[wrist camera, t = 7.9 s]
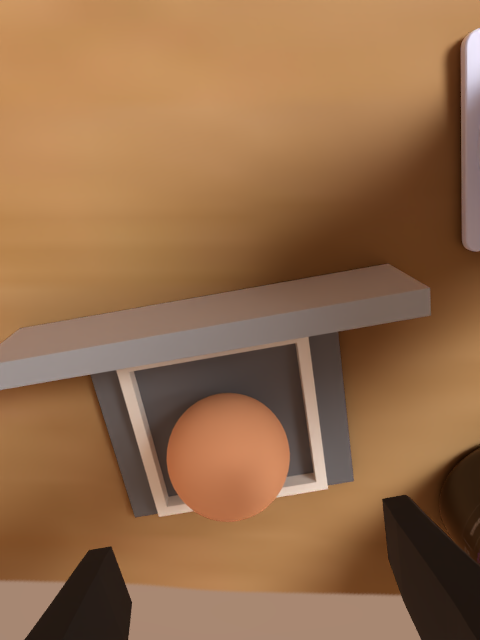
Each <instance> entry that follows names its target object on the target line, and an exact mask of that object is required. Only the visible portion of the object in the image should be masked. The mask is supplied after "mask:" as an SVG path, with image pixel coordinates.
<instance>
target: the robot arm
mask: <svg viewBox="0 0 480 640" xmlns="http://www.w3.org/2000/svg"><path fill="white" fill-rule="evenodd" d="M461 166H462V243H463V246H464V247H465V248H466V249H468V250H471V251H480V28H478V29H476V30H473V31H472V32H470V33H468V34H467V35H466V36H465V38H464V39H463V41H462V44H461ZM382 501H383V511H384V521H385V530H386V540H387V550H388V559H389V562H390V565H391V568H392V570H393V573H394V576H395V579H396V582H397V585H398V587H399V590H400V593H401V596H402V598H403V601H404V603H405V605H406V608H407V610H408V612H409V614H410V616H411V618H412V621H413V623H414V625H415V627H416V629H417V631H418V633H419V636H420V638H421V640H480V565H479V564H478V563H477V562H476V561H475V560H474V559H472V558H471V557H470V556H469V555H468V554H467V553H466V552H465V551H464V550H462V549H461V548H460V547H459V546H458V545H457V544H456V543H455V542H454V541H453V540H452V539H451V538H449V537H448V536H447V535H446V534H445V533H444V532H443V531H442V530H441V529H440V528H439V527H438V526H437V525H436V524H435V523H434V522H433V521H432V520H431V519H430V518H429V517H428V516H427V515H426V514H425V513H424V512H423V511H422V510H421V509H420V508H419V507H418V506H417V505H416V503H415V502H414V501H413V500H412V499H411V498H410V497H408V496H407V495H402V496H396V497H390V498H385V499H382ZM131 607H132V601H131V598H130V596H129V593H128V590H127V588H126V585H125V582H124V580H123V577H122V574H121V571H120V569H119V566H118V563H117V561H116V558H115V555H114V553H113V550H112V547H105V548H99V549H94V550H89V551H88V552H87V554H86V555H85V556H84V558H83V559H82V561H81V562H80V563H79V565H78V566H77V567H76V569H75V570H74V572H73V573H72V575H71V576H70V577H69V579H68V580H67V582H66V583H65V585H64V586H63V588H62V589H61V590H60V592H59V593H58V595H57V596H56V597H55V599H54V600H53V602H52V603H51V604H50V606H49V607H48V608H47V610H46V611H45V613H44V614H43V615H42V617H41V618H40V619H39V621H38V622H37V623H36V625H35V626H34V628H33V629H32V630H31V632H30V633H29V635H28V636H27V637H26V638H25V640H128V635H129V627H130V616H131Z"/></svg>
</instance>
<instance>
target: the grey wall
mask: <svg viewBox="0 0 480 640" xmlns="http://www.w3.org/2000/svg"><path fill="white" fill-rule="evenodd" d="M425 316H431V300H430V287H428V286H426V285H424V284H423V283H421V282H419V281H417V280H416V279H414V278H412V277H411V276H409V275H407V274H405V273H404V272H402V271H400V270H399V269H397V268H395V267H393V266H392V265H390V264H383V265H378V266H372V267H366V268H361V269H355V270H349V271H344V272H338V273H332V274H327V275H321V276H315V277H309V278H304V279H298V280H292V281H287V282H281V283H275V284H270V285H264V286H258V287H253V288H247V289H241V290H236V291H230V292H224V293H218V294H213V295H207V296H201V297H196V298H190V299H184V300H179V301H173V302H167V303H162V304H156V305H150V306H145V307H139V308H133V309H128V310H122V311H116V312H110V313H105V314H99V315H93V316H88V317H82V318H76V319H71V320H65V321H59V322H54V323H48V324H42V325H37V326H31V327H25V328H20V329H19V330H17V331H16V332H15V333H14V334H12V335H11V336H10V337H8V338H7V339H6V340H5V341H3V342H2V343H1V344H0V390H3V389H9V388H15V387H21V386H26V385H32V384H38V383H44V382H50V381H55V380H61V379H67V378H73V377H78V376H84V375H90V374H96V373H102V372H107V371H113V370H119V369H125V368H130V367H136V366H142V365H148V364H154V363H159V362H165V361H171V360H177V359H182V358H188V357H194V356H200V355H206V354H211V353H217V352H223V351H229V350H234V349H240V348H246V347H252V346H258V345H263V344H269V343H275V342H281V341H286V340H292V339H298V338H304V337H310V336H315V335H321V334H327V333H333V332H338V331H344V330H350V329H356V328H362V327H367V326H373V325H379V324H385V323H390V322H396V321H402V320H408V319H414V318H419V317H425Z"/></svg>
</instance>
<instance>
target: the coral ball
mask: <svg viewBox="0 0 480 640" xmlns="http://www.w3.org/2000/svg"><path fill="white" fill-rule="evenodd" d="M289 463H290V451H289V444H288V439H287V436H286V433H285V431H284V428H283V426H282V424H281V423H280V421H279V420H278V418H277V417H276V416H275V414H274V413H273V412H272V411H271V410H270V409H269V408H268V407H266V406H265V405H264V404H263V403H261V402H259V401H258V400H256V399H254V398H252V397H249V396H246V395H242V394H237V393H220V394H215V395H211V396H208V397H206V398H204V399H201V400H200V401H198V402H196V403H195V404H193V405H192V406H191V407H189V408H188V409H187V410H186V411H185V412H184V413H183V414H182V416H181V417H180V418H179V420H178V421H177V423H176V425H175V426H174V428H173V430H172V433H171V435H170V438H169V442H168V447H167V468H168V474H169V477H170V480H171V483H172V485H173V487H174V489H175V491H176V492H177V494H178V496H179V497H180V498H181V500H182V501H183V502H184V503H185V504H186V505H187V506H188V507H189V508H191V509H192V510H193V511H195V512H196V513H198V514H200V515H202V516H204V517H206V518H209V519H212V520H216V521H223V522H232V521H239V520H243V519H247V518H249V517H252V516H254V515H256V514H258V513H260V512H261V511H262V510H264V509H265V508H266V507H267V506H269V505H270V504H271V503H272V502H273V500H274V499H275V498H276V497H277V495H278V494H279V492H280V491H281V489H282V487H283V485H284V483H285V480H286V477H287V474H288V470H289Z"/></svg>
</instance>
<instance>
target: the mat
mask: <svg viewBox="0 0 480 640" xmlns="http://www.w3.org/2000/svg"><path fill="white" fill-rule="evenodd" d="M90 375H91V378H92V382H93V385H94V388H95V391H96V394H97V397H98V401H99V404H100V407H101V410H102V413H103V417H104V420H105V423H106V426H107V429H108V433H109V436H110V439H111V442H112V445H113V449H114V452H115V455H116V458H117V461H118V465H119V468H120V471H121V474H122V477H123V480H124V484H125V487H126V490H127V493H128V496H129V500H130V503H131V506H132V509H133V512H134V516H135V517H141V516H147V515H153V514H158V516H159V517H162V516H168V515H174V514H180V513H186V512H192V511H193V510H192V509H191V508H189V507H188V506H187V505H186V504H185V503H184V502H183V501H182V500H181V498H180V497H179V496H178V494H177V492H176V491H175V489H174V487H173V485H172V483H171V480H170V477H169V474H168V468H167V447H168V442H169V438H170V435H171V433H172V430H173V428H174V426H175V425H176V423H177V421H178V420H179V418H180V417H181V416H182V414H183V413H184V412H185V411H186V410H187V409H188V408H189V407H191V406H192V405H193V404H195V403H196V402H198V401H200V400H201V399H204V398H206V397H208V396H211V395H215V394H220V393H237V394H242V395H246V396H249V397H252V398H254V399H256V400H258V401H259V402H261V403H263V404H264V405H265V406H266V407H268V408H269V409H270V410H271V411H272V412H273V413H274V414H275V416H276V417H277V418H278V420H279V421H280V423H281V424H282V426H283V428H284V431H285V433H286V436H287V439H288V444H289V451H290V463H289V470H288V474H287V477H286V480H285V483H284V485H283V487H282V489H281V491H280V492H279V494H278V495H277V497H282V496H288V495H294V494H301V493H307V492H313V491H319V490H325V489H328V485H333V484H339V483H345V482H351V481H354V478H353V468H352V459H351V449H350V440H349V430H348V421H347V411H346V402H345V392H344V383H343V374H342V364H341V355H340V345H339V336H338V332H333V333H327V334H321V335H315V336H310V337H304V338H298V339H292V340H286V341H281V342H275V343H269V344H263V345H258V346H252V347H246V348H240V349H234V350H229V351H223V352H217V353H211V354H206V355H200V356H194V357H188V358H182V359H177V360H171V361H165V362H159V363H154V364H148V365H142V366H136V367H130V368H125V369H119V370H113V371H107V372H102V373H96V374H90Z"/></svg>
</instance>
